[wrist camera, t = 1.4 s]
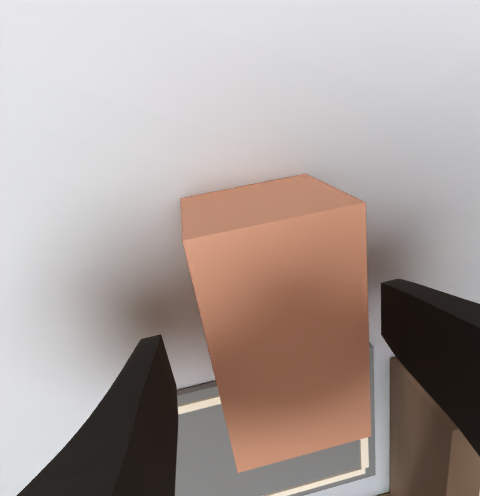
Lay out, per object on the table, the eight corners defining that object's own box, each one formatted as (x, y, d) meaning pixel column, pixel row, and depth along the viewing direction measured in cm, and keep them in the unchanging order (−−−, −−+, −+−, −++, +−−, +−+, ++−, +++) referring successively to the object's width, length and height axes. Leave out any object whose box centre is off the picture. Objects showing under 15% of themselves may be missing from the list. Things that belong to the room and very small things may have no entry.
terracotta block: (303, 173, 13) (365, 202, 9) (320, 351, 16) (371, 436, 12) (180, 197, 12) (182, 240, 8) (221, 375, 15) (237, 472, 11)
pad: (369, 342, 16) (374, 348, 15) (372, 469, 19) (376, 476, 19) (122, 404, 15) (120, 411, 14) (169, 527, 18) (168, 536, 18)
